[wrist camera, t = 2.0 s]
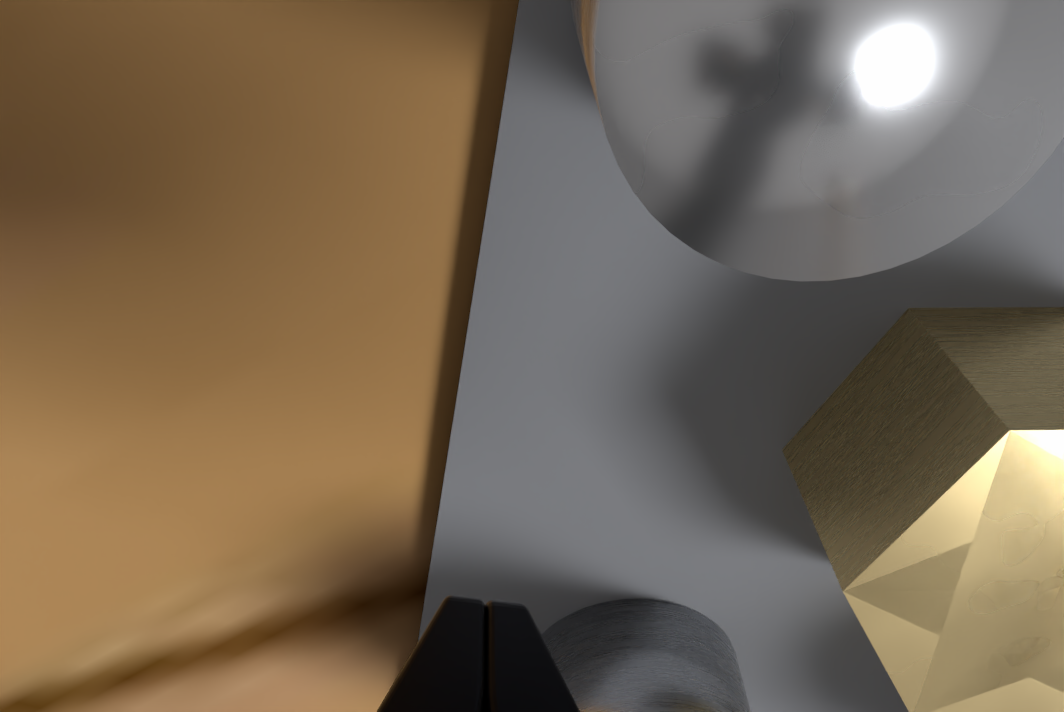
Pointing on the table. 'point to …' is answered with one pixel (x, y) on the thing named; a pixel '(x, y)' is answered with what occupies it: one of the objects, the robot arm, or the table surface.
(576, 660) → the spacers
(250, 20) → the table surface
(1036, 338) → the faceted tan block
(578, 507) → the mat
